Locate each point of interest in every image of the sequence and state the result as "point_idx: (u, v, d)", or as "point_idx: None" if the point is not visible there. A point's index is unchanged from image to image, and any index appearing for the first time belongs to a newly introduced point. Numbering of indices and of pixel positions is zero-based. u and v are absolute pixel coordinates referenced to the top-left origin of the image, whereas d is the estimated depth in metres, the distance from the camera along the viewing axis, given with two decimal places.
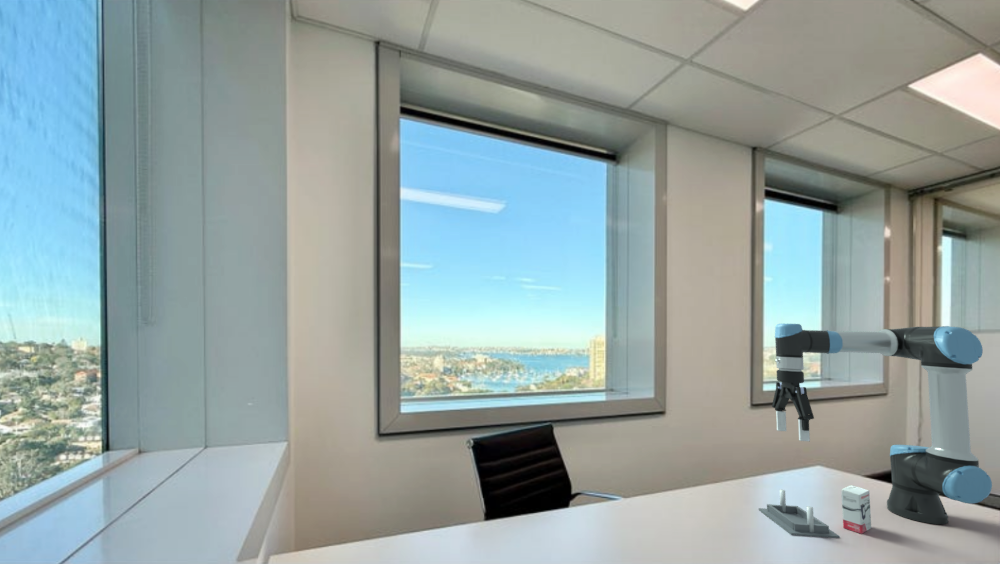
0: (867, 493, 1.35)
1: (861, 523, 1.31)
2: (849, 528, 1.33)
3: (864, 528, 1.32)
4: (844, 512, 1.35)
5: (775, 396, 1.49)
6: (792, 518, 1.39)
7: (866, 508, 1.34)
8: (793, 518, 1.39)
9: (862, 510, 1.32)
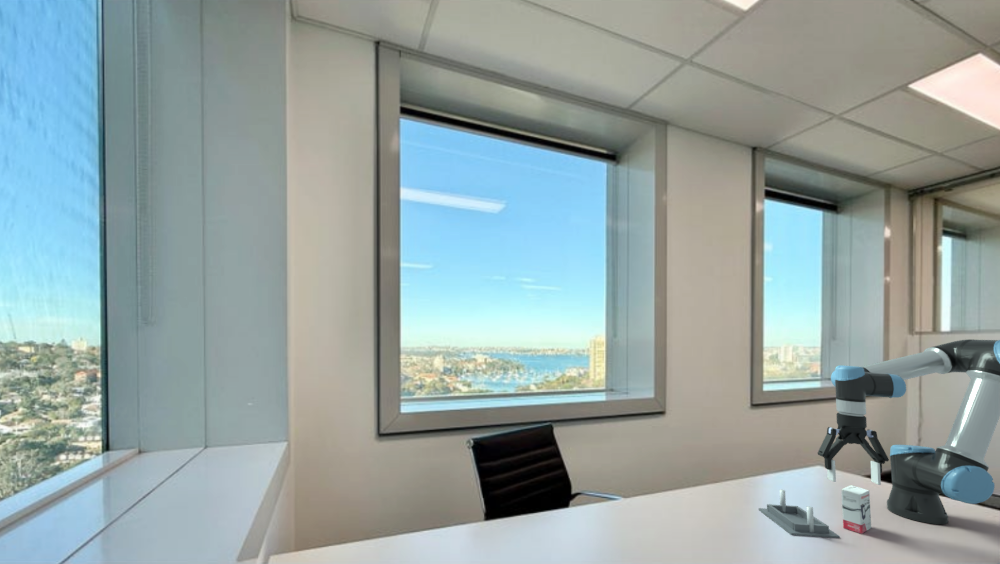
0: (867, 493, 1.35)
1: (861, 523, 1.31)
2: (849, 528, 1.33)
3: (864, 528, 1.32)
4: (844, 512, 1.35)
5: None
6: (792, 518, 1.39)
7: (866, 508, 1.34)
8: (793, 518, 1.39)
9: (862, 510, 1.32)
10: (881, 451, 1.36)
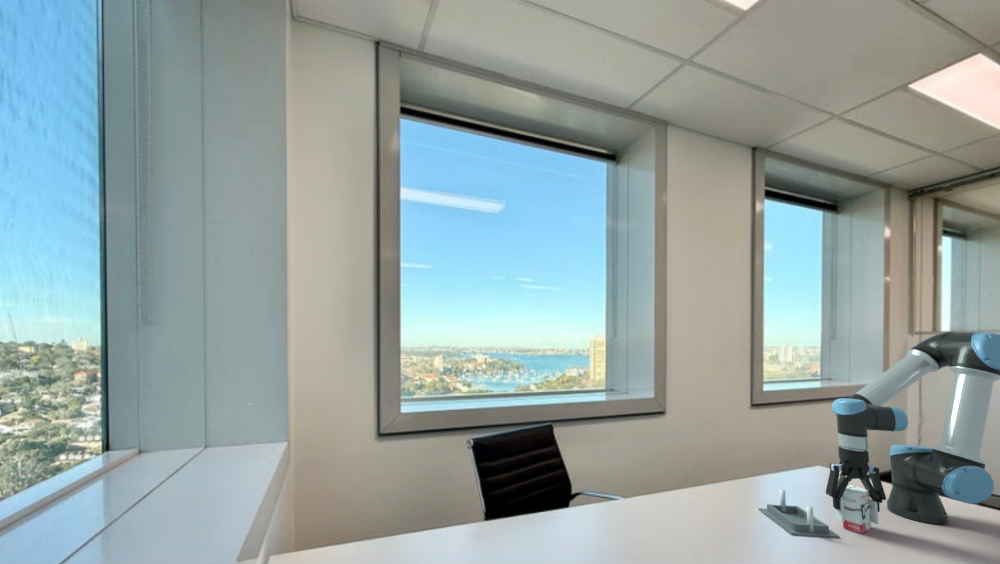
0: (867, 493, 1.35)
1: (861, 523, 1.31)
2: (849, 528, 1.33)
3: (864, 528, 1.32)
4: (844, 512, 1.35)
5: None
6: (792, 518, 1.39)
7: (866, 508, 1.34)
8: (793, 518, 1.39)
9: (862, 510, 1.32)
10: (880, 489, 1.35)
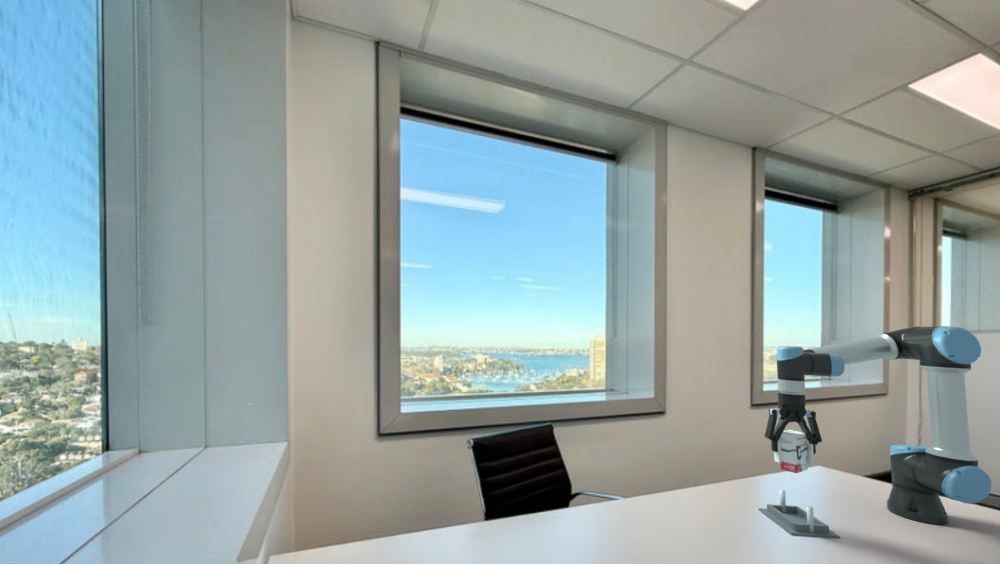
0: (804, 436, 1.39)
1: (796, 463, 1.35)
2: (785, 469, 1.37)
3: (799, 468, 1.36)
4: (781, 454, 1.39)
5: None
6: (792, 518, 1.39)
7: (803, 450, 1.38)
8: (793, 518, 1.39)
9: (797, 451, 1.36)
10: (816, 431, 1.39)
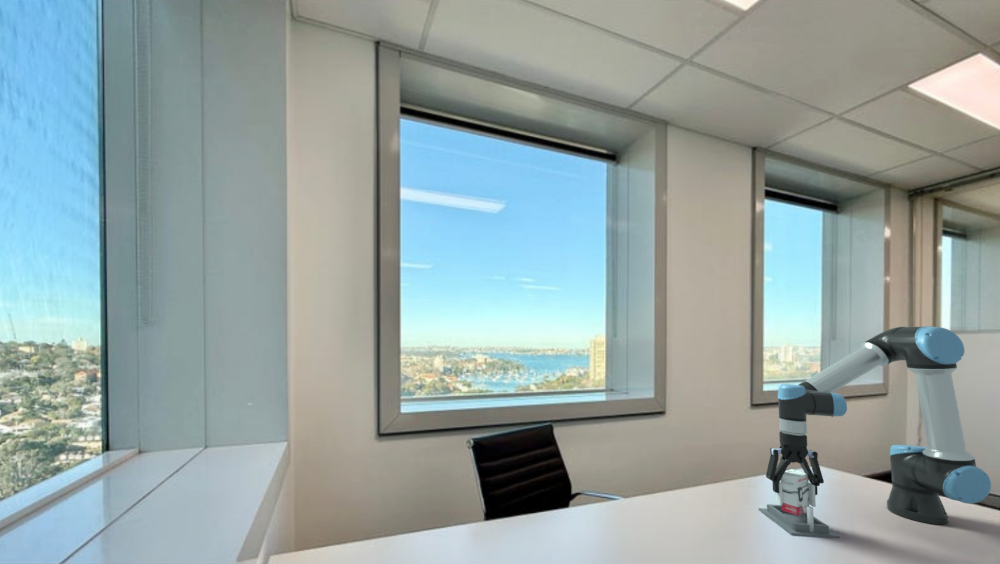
0: (805, 476, 1.38)
1: (797, 505, 1.34)
2: (787, 510, 1.36)
3: (801, 510, 1.35)
4: None
5: None
6: (792, 518, 1.39)
7: (804, 491, 1.37)
8: (793, 518, 1.39)
9: (799, 493, 1.35)
10: (818, 472, 1.37)
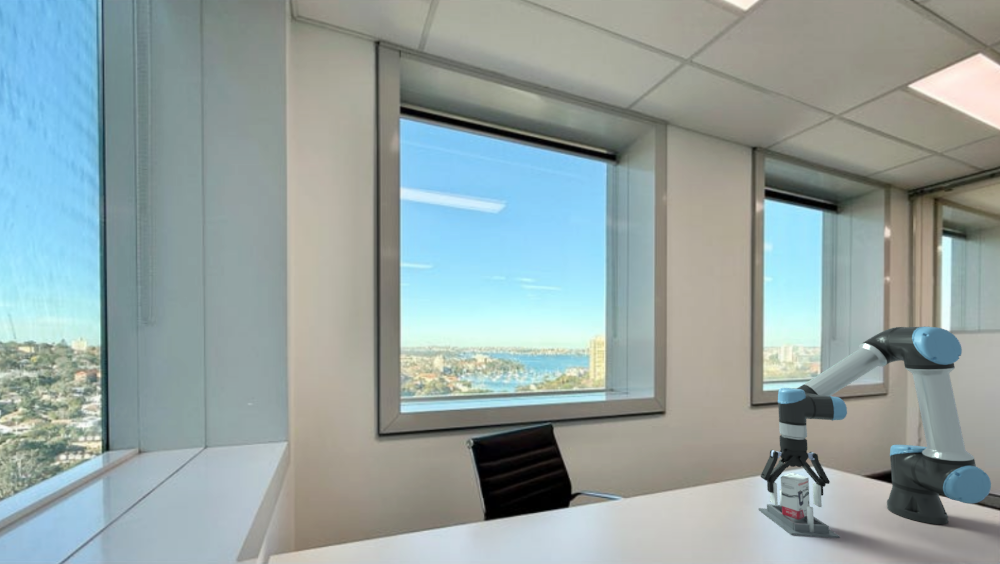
0: (806, 480, 1.38)
1: (798, 509, 1.34)
2: (787, 514, 1.36)
3: (801, 514, 1.35)
4: (783, 499, 1.37)
5: None
6: (792, 518, 1.39)
7: (805, 495, 1.36)
8: (793, 518, 1.39)
9: (799, 497, 1.35)
10: (822, 474, 1.37)
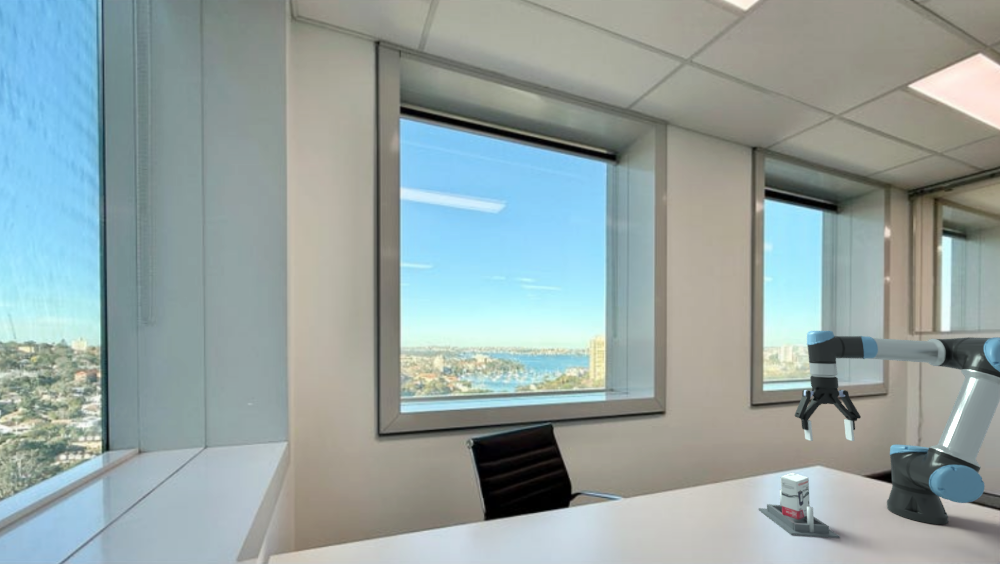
0: (806, 480, 1.38)
1: (798, 509, 1.34)
2: (787, 514, 1.36)
3: (801, 514, 1.35)
4: (783, 499, 1.37)
5: None
6: (792, 518, 1.39)
7: (805, 495, 1.36)
8: (793, 518, 1.39)
9: (799, 497, 1.35)
10: (853, 409, 1.43)
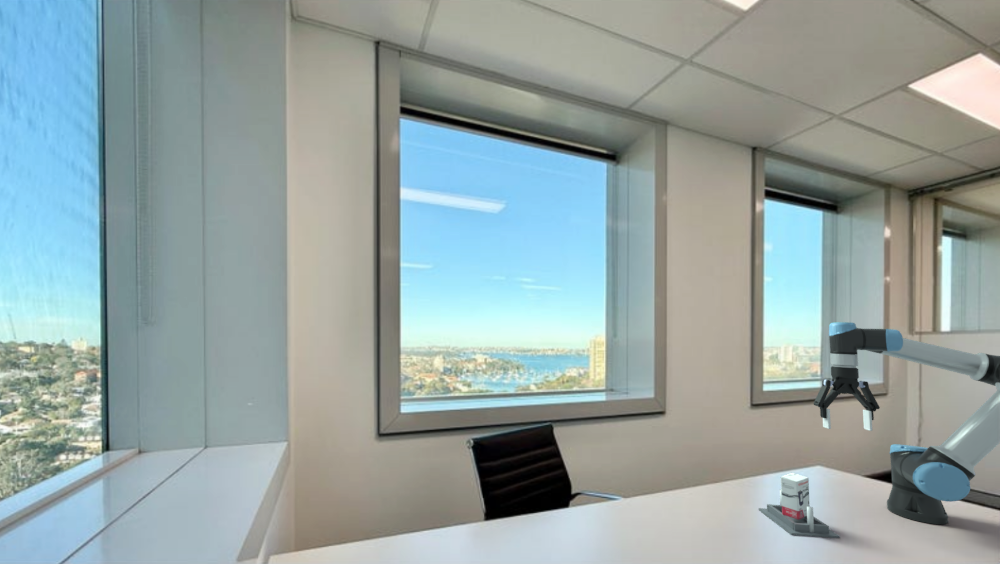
0: (806, 480, 1.38)
1: (798, 509, 1.34)
2: (787, 514, 1.36)
3: (801, 514, 1.35)
4: (783, 499, 1.37)
5: None
6: (792, 518, 1.39)
7: (805, 495, 1.36)
8: (793, 518, 1.39)
9: (799, 497, 1.35)
10: (872, 400, 1.46)
